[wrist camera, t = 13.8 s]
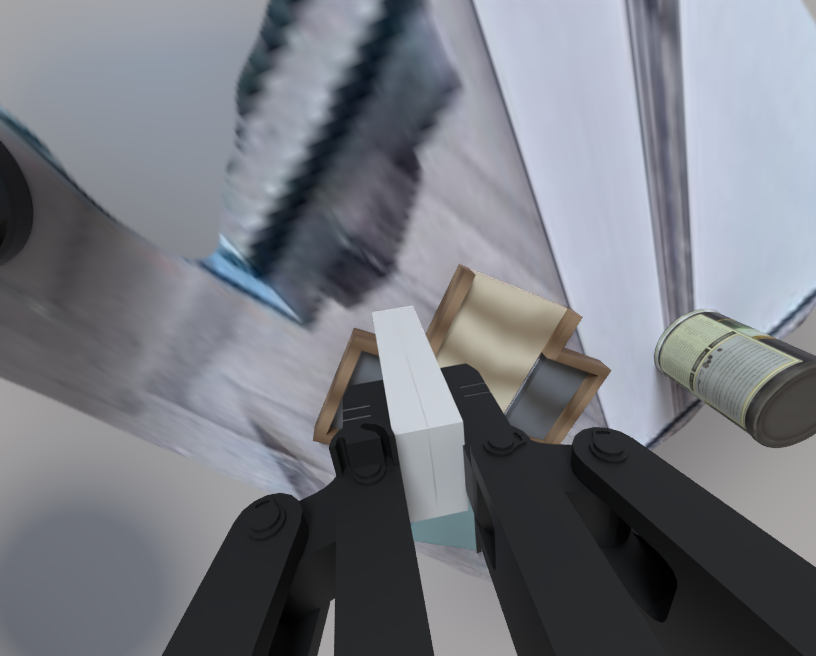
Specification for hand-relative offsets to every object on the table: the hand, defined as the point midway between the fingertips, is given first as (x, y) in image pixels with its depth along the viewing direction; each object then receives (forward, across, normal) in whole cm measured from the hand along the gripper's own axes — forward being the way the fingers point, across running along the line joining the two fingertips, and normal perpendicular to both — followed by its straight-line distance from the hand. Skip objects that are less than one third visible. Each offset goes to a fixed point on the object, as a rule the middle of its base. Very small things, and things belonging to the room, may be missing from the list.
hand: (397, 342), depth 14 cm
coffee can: (+27, +40, -22) cm, 53 cm away
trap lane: (+26, +9, -22) cm, 36 cm away
